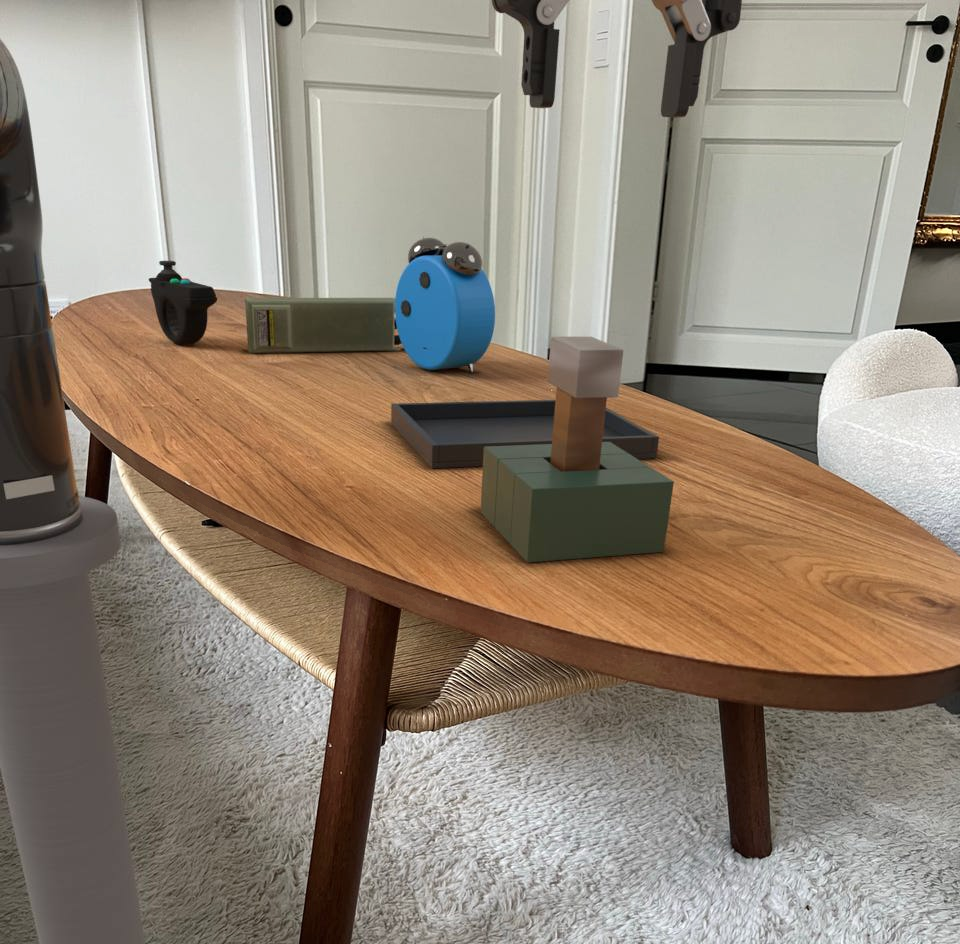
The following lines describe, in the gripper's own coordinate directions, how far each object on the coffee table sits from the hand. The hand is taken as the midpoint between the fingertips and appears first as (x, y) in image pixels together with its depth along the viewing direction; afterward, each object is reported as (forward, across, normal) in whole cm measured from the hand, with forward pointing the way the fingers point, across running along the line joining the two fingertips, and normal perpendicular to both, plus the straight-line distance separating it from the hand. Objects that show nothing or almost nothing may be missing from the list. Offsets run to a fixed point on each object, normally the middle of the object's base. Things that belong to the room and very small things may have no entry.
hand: (608, 112), depth 55 cm
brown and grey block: (+26, 0, 0) cm, 26 cm away
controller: (+26, +23, -76) cm, 84 cm away
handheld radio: (+26, +3, -71) cm, 76 cm away
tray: (+26, -5, -24) cm, 36 cm away
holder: (+26, 0, 0) cm, 26 cm away
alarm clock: (+26, -7, -58) cm, 64 cm away
